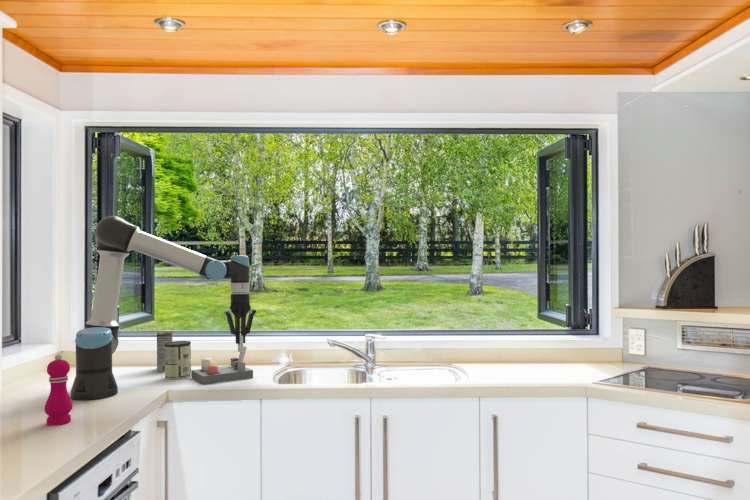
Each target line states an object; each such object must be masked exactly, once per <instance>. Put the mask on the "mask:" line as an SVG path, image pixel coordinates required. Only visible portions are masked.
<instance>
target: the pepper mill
mask: <svg viewBox="0 0 750 500" xmlns="http://www.w3.org/2000/svg"><path fill="white" fill-rule="evenodd" d="M62 358H63V356H62V355H61V354H59V353H58V354H55V356H54V359H55V360H52V361H50V362H49V363H48V364H47V366H46V373H47V374H48V375H49V377H48V383H50V392H49V395H48V396H47V397H48V398H47V400H46V402H45V405H44V413H45V414H46V415H47V417H46V425H47V426H61V425H67V424H69V423H70V422H72V421H71V420H72V419H71V418H72V416H71V414H70V412H71V411H72V410H73V401H72V398H71V397H70V395H69V392H68V389H67V381H69V375H68V373H69V372H70V370H71V365H70V363H69V362H68V361H67V360H66V359H62Z"/></svg>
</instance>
